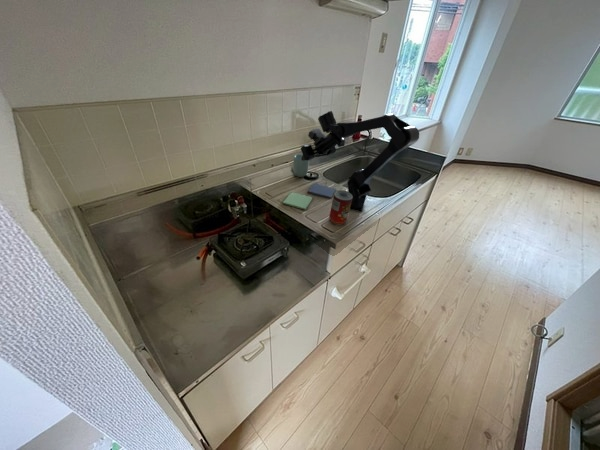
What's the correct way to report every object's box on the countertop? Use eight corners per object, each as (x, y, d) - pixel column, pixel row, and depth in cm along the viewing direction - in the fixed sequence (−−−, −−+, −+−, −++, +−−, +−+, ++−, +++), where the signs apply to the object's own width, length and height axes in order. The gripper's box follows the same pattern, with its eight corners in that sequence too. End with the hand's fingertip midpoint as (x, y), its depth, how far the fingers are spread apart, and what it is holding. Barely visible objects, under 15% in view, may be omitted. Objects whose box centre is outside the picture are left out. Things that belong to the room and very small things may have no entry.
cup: (290, 176, 123) (291, 157, 117) (296, 170, 128) (297, 152, 122) (304, 180, 121) (306, 161, 115) (309, 174, 127) (311, 156, 121)
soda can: (340, 228, 91) (347, 200, 84) (325, 220, 94) (330, 192, 87) (349, 220, 95) (356, 193, 88) (334, 213, 99) (340, 186, 91)
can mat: (335, 190, 115) (335, 188, 115) (330, 198, 108) (331, 197, 108) (313, 184, 117) (313, 183, 117) (308, 192, 111) (308, 191, 110)
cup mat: (312, 199, 106) (312, 197, 106) (305, 210, 99) (305, 208, 98) (291, 193, 108) (291, 191, 108) (282, 203, 101) (282, 202, 100)
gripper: (336, 122, 108) (315, 139, 120) (306, 126, 97) (287, 145, 110) (345, 145, 108) (324, 160, 121) (317, 152, 97) (296, 167, 110)
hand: (308, 157), depth 115 cm, fingers open, 9 cm apart
